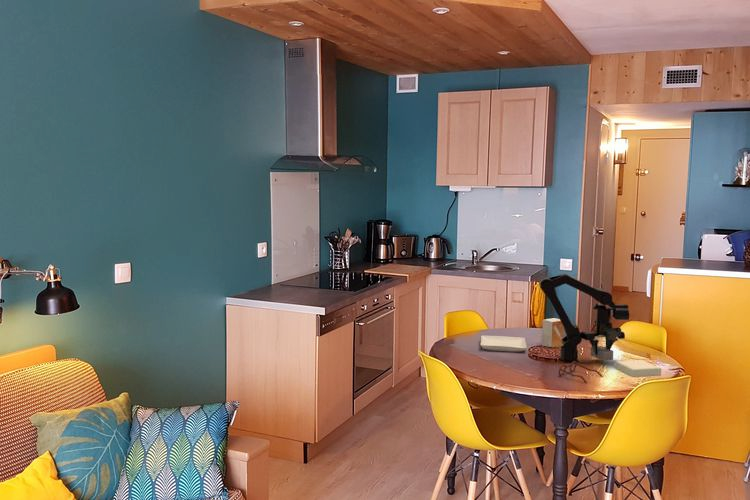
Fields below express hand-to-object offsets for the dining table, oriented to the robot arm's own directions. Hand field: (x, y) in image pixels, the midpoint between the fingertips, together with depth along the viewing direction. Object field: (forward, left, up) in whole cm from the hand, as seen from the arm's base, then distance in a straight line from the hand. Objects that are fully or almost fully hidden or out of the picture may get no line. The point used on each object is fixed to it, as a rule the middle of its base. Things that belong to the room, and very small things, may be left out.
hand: (601, 354), depth 286 cm
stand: (+7, -16, -4) cm, 18 cm away
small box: (-8, +30, -4) cm, 31 cm away
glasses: (-20, -18, -4) cm, 28 cm away
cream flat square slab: (-32, +33, -4) cm, 46 cm away
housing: (0, 0, -2) cm, 2 cm away
